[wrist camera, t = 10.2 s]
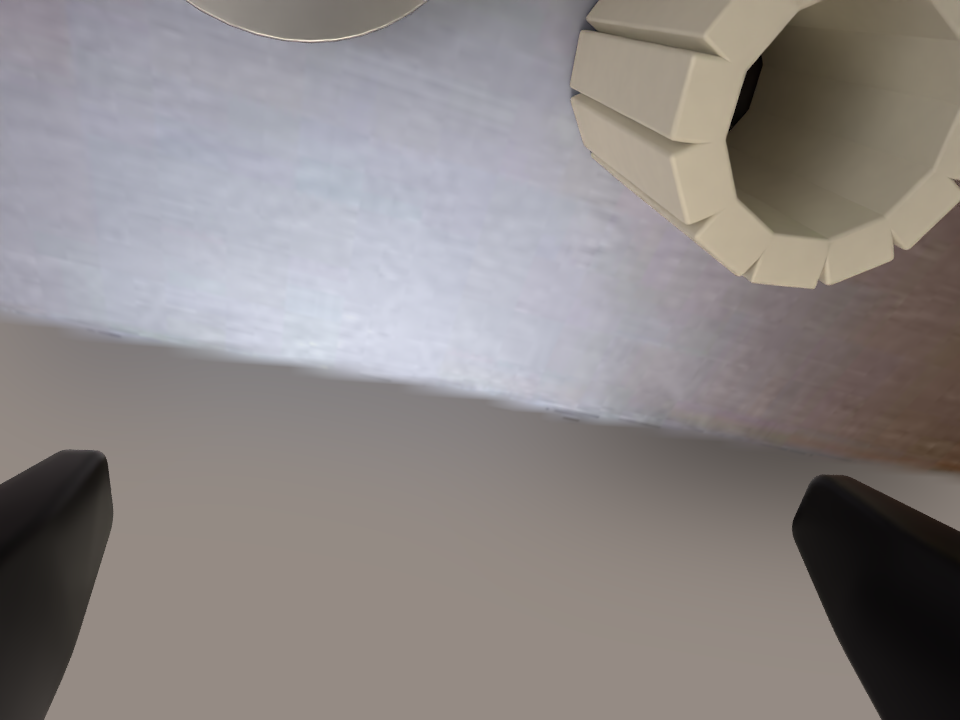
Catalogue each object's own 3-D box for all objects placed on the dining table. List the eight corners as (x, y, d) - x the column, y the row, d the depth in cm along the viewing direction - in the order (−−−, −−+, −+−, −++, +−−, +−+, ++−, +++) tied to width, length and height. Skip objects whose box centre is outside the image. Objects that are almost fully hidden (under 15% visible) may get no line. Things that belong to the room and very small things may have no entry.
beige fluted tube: (550, 178, 18) (634, 272, 12) (601, -83, 16) (741, -128, 9) (751, 202, 19) (921, 300, 13) (832, -37, 17) (1091, -52, 11)
